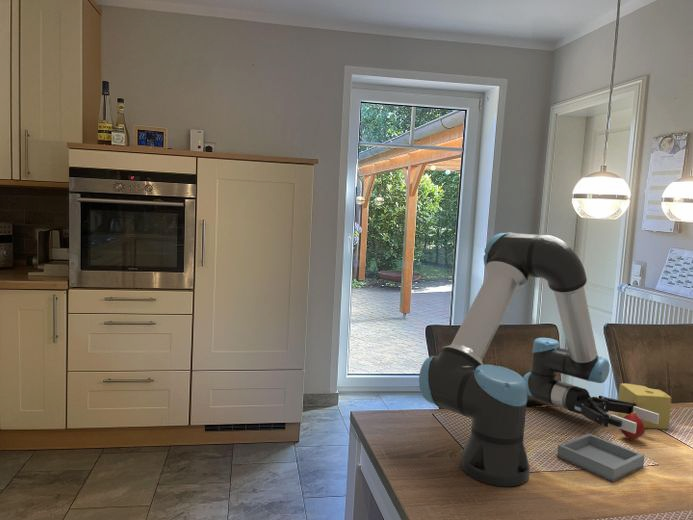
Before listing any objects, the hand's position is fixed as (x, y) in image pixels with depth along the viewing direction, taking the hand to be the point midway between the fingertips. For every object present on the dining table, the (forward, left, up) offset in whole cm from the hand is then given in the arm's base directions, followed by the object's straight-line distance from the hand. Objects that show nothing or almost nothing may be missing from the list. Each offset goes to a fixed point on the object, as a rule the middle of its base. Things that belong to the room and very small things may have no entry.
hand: (647, 423), depth 134 cm
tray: (-16, -12, -6) cm, 21 cm away
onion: (-2, +3, -6) cm, 7 cm away
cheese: (+7, +17, -6) cm, 20 cm away
